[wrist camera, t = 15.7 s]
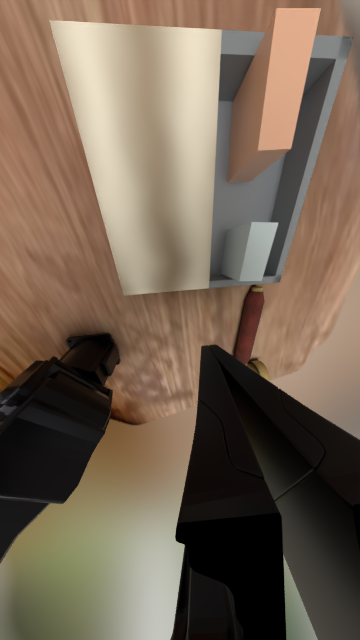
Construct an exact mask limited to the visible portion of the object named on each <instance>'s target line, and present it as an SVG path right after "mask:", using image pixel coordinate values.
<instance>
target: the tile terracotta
mask: <svg viewBox="0 0 360 640" xmlns="http://www.w3.org/2000/svg"><path fill="white" fill-rule="evenodd" d="M320 10H321V8H276V11H275V13H274V15H273V17H272V19H271V21H270V24H269V26H268V28H267V30H266V32H265V34H264V36H263V39H262V41H261V43H260V45H259V47H258V49H257V51H256V54H255V56H254V58H253V60H252V62H251V64H250V67H249V69H248V71H247V73H246V75H245V77H244V79H243V82H242V84H241V86H240V88H239V90H238V92H237V94H236V97H235V99H234V101H233V103H232V119H231V135H230V151H229V167H228V183H233V182H247V181H251V180H253V179H254V178H255V177H256V176H258V175H259V174H260V173H261V172H263V171H264V170H265V169H266V168H268V167H269V166H270V165H271V164H273V163H274V162H275V161H276V160H278V159H279V158H280V157H281V156H283V155H284V154H285V153H286V152H288V151H289V150H290V149H291V147H292V142H293V137H294V133H295V128H296V123H297V119H298V114H299V109H300V104H301V100H302V95H303V90H304V86H305V81H306V76H307V71H308V67H309V62H310V57H311V53H312V48H313V43H314V38H315V34H316V29H317V24H318V20H319V15H320Z"/></svg>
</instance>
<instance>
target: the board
mask: <svg viewBox="0 0 360 640" xmlns="http://www.w3.org/2000/svg"><path fill="white" fill-rule="evenodd" d="M49 21H50V25H51V29H52V32H53V36H54V40H55V43H56V47H57V51H58V54H59V58H60V62H61V66H62V69H63V73H64V77H65V80H66V84H67V88H68V91H69V95H70V99H71V103H72V106H73V110H74V114H75V117H76V121H77V125H78V128H79V132H80V136H81V140H82V143H83V147H84V151H85V154H86V158H87V162H88V165H89V169H90V173H91V177H92V180H93V184H94V188H95V191H96V195H97V199H98V202H99V206H100V210H101V214H102V217H103V221H104V225H105V228H106V232H107V236H108V239H109V243H110V247H111V251H112V254H113V258H114V262H115V265H116V269H117V273H118V276H119V280H120V284H121V288H122V291H123V295H124V296H125V295H136V294H148V293H160V292H171V291H183V290H195V289H206V288H209V277H210V257H211V237H212V217H213V197H214V177H215V157H216V137H217V117H218V97H219V77H220V56H221V36H222V30H216V29H198V28H180V27H162V26H143V25H125V24H107V23H89V22H71V21H53V20H49Z"/></svg>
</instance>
